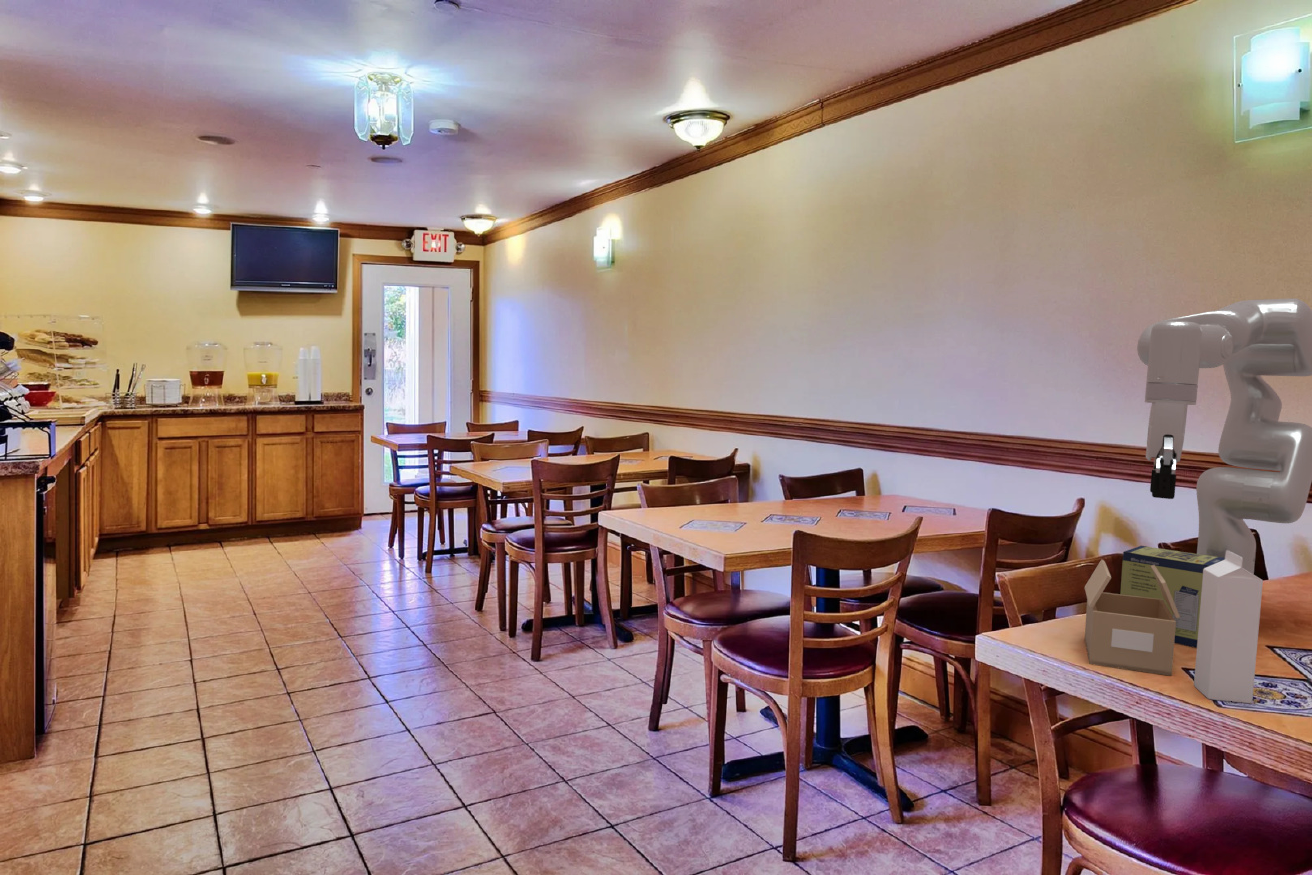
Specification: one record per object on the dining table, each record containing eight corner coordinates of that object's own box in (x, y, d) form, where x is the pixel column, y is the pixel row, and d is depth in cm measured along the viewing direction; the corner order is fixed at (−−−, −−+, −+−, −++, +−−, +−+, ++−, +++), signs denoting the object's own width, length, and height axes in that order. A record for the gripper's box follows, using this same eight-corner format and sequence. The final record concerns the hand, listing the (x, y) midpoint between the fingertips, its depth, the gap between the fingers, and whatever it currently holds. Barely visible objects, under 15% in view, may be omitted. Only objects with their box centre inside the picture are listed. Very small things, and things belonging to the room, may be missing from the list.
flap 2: (1163, 597, 155) (1150, 565, 156) (1167, 596, 155) (1154, 564, 155) (1176, 618, 141) (1161, 583, 142) (1180, 617, 141) (1165, 582, 142)
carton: (1084, 638, 161) (1087, 590, 160) (1158, 648, 156) (1162, 599, 156) (1089, 664, 146) (1093, 611, 146) (1171, 676, 142) (1176, 621, 141)
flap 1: (1084, 587, 160) (1101, 559, 159) (1087, 588, 160) (1104, 560, 158) (1089, 606, 146) (1107, 575, 145) (1092, 607, 146) (1111, 577, 145)
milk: (1235, 690, 136) (1248, 551, 134) (1252, 704, 130) (1266, 559, 129) (1192, 685, 137) (1204, 548, 136) (1207, 699, 132) (1220, 555, 130)
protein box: (1133, 620, 174) (1139, 544, 173) (1223, 639, 163) (1230, 558, 162) (1115, 630, 167) (1121, 550, 166) (1208, 651, 156) (1215, 565, 155)
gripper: (1144, 395, 156) (1135, 489, 157) (1146, 392, 141) (1137, 497, 142) (1192, 397, 153) (1183, 494, 154) (1200, 395, 138) (1191, 502, 139)
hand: (1161, 495), depth 148 cm, fingers open, 9 cm apart
